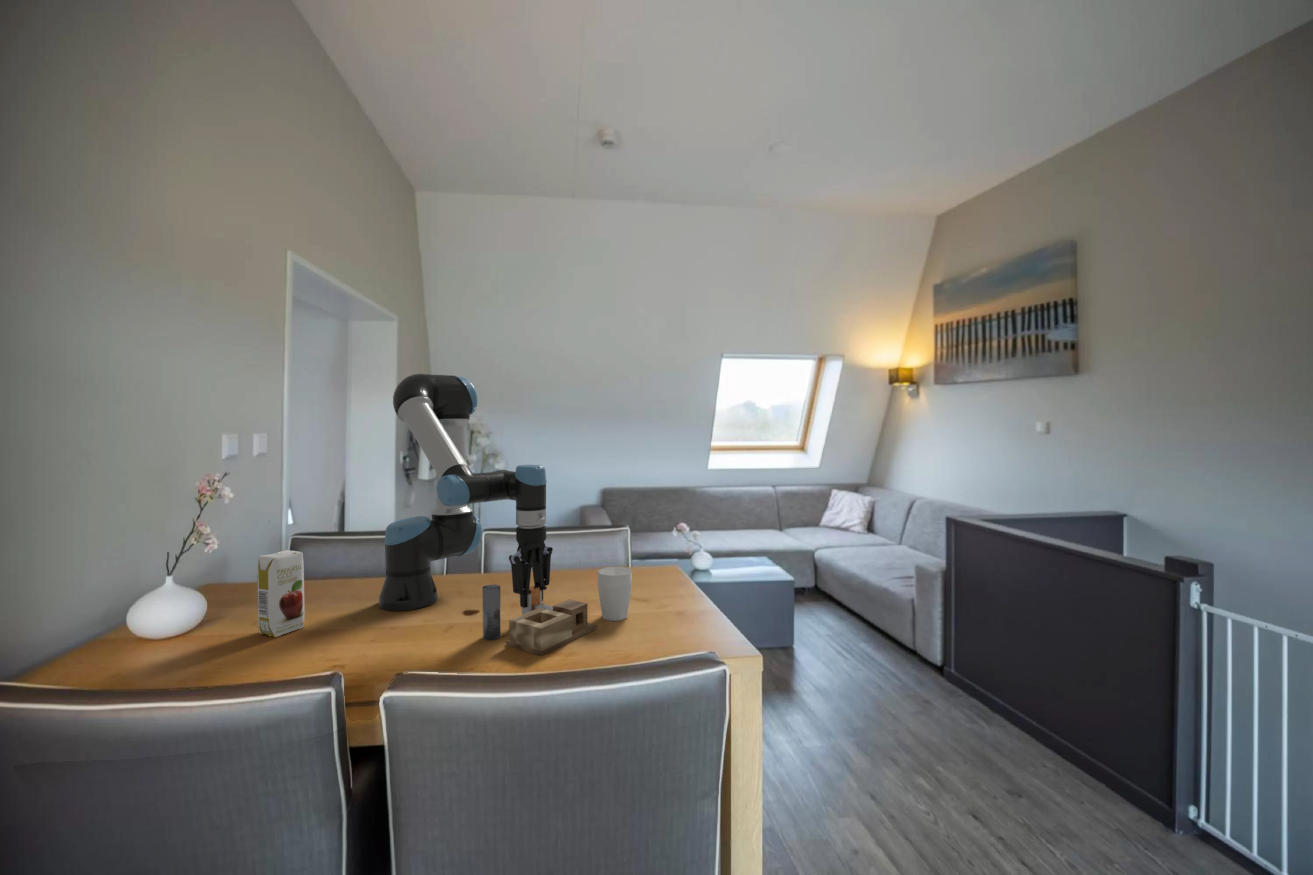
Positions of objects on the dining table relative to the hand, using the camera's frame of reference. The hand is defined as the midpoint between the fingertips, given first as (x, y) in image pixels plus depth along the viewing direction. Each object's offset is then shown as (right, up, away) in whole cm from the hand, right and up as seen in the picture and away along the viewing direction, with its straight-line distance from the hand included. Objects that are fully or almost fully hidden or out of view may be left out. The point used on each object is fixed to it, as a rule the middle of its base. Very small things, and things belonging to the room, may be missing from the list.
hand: (532, 616), depth 145 cm
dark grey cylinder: (-7, -1, -11) cm, 13 cm away
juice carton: (-59, -2, -7) cm, 60 cm away
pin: (+4, -1, -3) cm, 5 cm away
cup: (+21, -1, +3) cm, 21 cm away
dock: (+7, -1, -11) cm, 13 cm away
